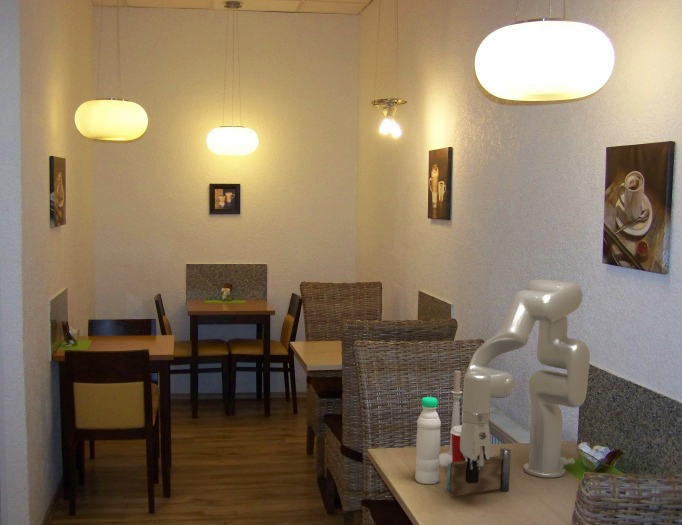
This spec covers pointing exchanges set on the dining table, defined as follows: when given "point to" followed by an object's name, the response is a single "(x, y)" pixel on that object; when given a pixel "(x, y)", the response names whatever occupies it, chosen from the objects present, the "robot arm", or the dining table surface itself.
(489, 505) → the dining table surface
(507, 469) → the gate posts
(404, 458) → the dining table surface
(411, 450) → the dining table surface
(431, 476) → the water bottle
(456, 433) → the paper cup
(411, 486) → the dining table surface
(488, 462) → the gate
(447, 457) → the candlestick
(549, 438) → the robot arm
